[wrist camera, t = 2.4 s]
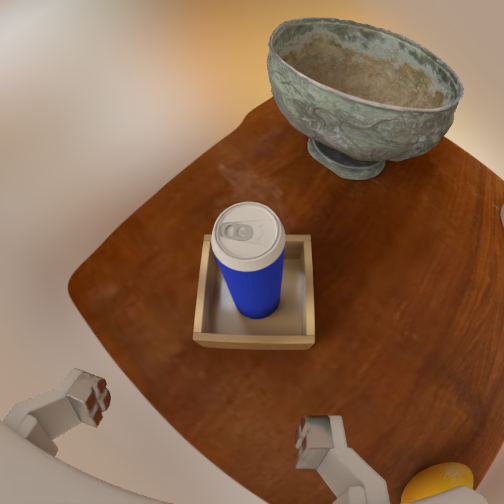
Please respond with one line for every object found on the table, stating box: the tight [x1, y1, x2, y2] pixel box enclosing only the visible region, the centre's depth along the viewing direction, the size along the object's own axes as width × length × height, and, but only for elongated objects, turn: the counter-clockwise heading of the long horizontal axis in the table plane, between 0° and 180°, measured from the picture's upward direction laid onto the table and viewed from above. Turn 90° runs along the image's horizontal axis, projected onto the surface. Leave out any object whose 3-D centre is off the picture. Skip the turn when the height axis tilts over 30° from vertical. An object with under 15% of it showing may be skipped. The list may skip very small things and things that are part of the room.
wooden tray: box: [193, 235, 315, 350], centre depth 30 cm, size 12×12×5 cm
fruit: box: [401, 462, 473, 504], centre depth 16 cm, size 9×8×8 cm
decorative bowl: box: [267, 18, 464, 180], centre depth 34 cm, size 26×26×20 cm
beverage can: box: [211, 202, 286, 319], centre depth 25 cm, size 5×5×15 cm
